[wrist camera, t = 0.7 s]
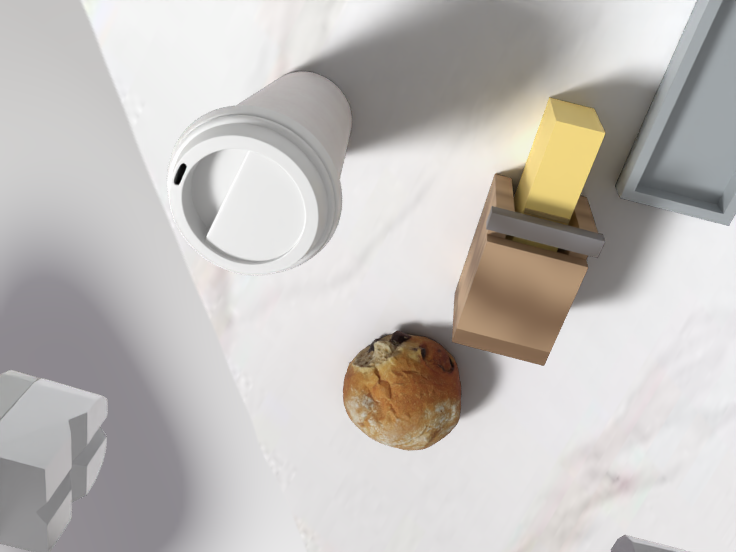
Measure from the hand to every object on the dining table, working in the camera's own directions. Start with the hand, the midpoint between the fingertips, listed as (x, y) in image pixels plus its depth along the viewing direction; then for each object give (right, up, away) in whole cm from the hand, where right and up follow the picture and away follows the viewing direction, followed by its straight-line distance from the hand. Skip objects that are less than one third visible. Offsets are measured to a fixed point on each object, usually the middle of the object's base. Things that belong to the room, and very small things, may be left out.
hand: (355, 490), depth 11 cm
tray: (+22, +15, +33) cm, 42 cm away
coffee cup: (-4, +14, +38) cm, 41 cm away
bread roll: (+3, -5, +48) cm, 48 cm away
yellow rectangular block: (+12, +11, +37) cm, 41 cm away
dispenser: (+11, +6, +40) cm, 42 cm away
